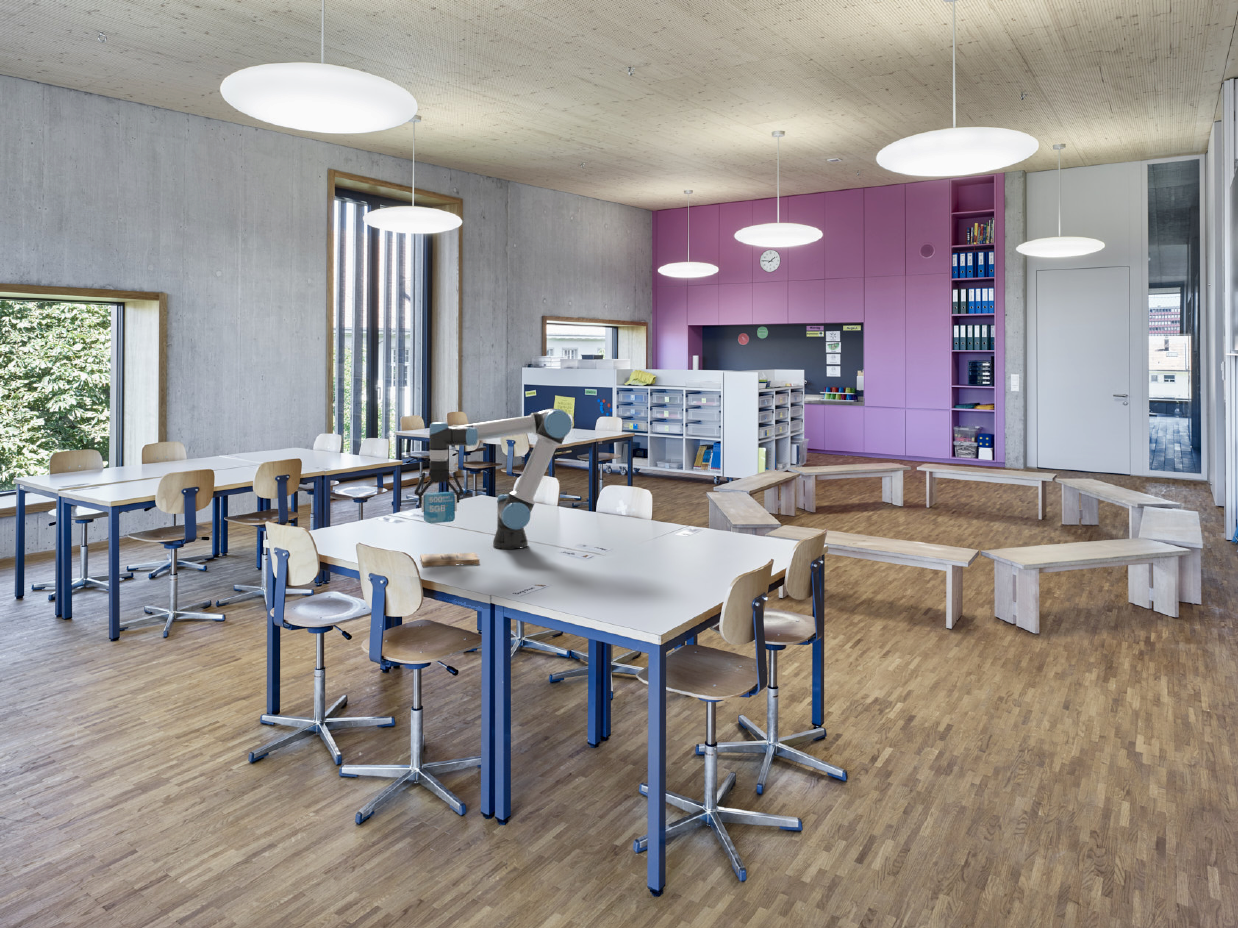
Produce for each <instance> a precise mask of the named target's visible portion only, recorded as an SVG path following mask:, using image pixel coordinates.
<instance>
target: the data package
mask: <svg viewBox="0 0 1238 928" xmlns="http://www.w3.org/2000/svg"><path fill="white" fill-rule="evenodd" d="M454 495H455V494H454V493H453V492H449V491H442V492H441V491H440V492H425V493H424V494H423V496H424V512H423V520H424V522H426V523H428V524H440V523H451V522H454V521H455V519H456V513H455V512H456V511H455V496H454Z"/></svg>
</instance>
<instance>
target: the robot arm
mask: <svg viewBox="0 0 1238 928" xmlns="http://www.w3.org/2000/svg"><path fill="white" fill-rule="evenodd" d="M572 424H573V423H572V419H571V416H570V415H569V414H568V413H567V411H564V410H563V409H559V408H548V409H545V410H544V409H543V410H541V411H536V412H531V413H530V414H529V415H526V416H518V417H511V418H504V419H497V420H490V421H484V422H477V423H471V424H464V425H462V424H458V425H457V426H455V427H451V426H449V423H448V422H440V421H439V422H432V423H431V422H430V424H429V434H428V435H429V437H428V438H429V459H430V461H429V472H426V471H422V472H421V477H420V480H419V482H418V484H417V485H416V488H415V489H414V491H413V494H414V495H415V496H418V504H419V505H420V506H421V512H422V513H424V495H425V493H426V491H427V490H428V489H429V488H430V486H431V485H432V484H433V483H436V484H437V483H441V484H442V483H446V484H447V485H448V486H449V487H450V489H451V490H452V491H453V492H454V493H455V494H454V496H455V512H457V511H458V505H457V504H459V503H460V495H464V494H465V491H464V489H463V488H462V485H461V484H460V481H459V480H458V478H457V472H456V471H455V470H453V471H449V446H452V447H453V446H463V447H465V446H466V447H470V446H471V447H472V446H477V444H478V441H484V440H485V441H486V440H491V439H499V438H506V437H513V436H519V435H520V436H521V435H527V434H533V435H535V436H537V441H536V442H535V445H534V447H533V449H532V451H531V453H530V456H529V458H528V460H527V462H526V465H525V466H524V469H523V471H522V473H521V475H520V477H519V480H518V482H517V484H516V486H515V488H514V490H512V491H510V492H509V493H508V494H499V495H498V496H497V500H496V503H497V507H496V509H497V512H496V513H497V515H496V516H497V519H496V522H497V523H496V524H497V525H496V526H497V528H496V530H495V531H496V532H495V534H494V538H493V541H492V546H493V547H494V548H496V547H498V548H497V549H500V548H502V550H515V549H514V548H520V547H525V548H527V547H528V546H529V545H528V544H529V543H528V541H529V540H528V538H527V536H526V531H525V527H526V526H527V525H528V524H529V522H530V520H531V516H532V515H531V513H532V511H533V508H534V506H535V503H536V502H535V500H534V497H535V495H536V493H537V491H538V489H539V486H540V484H541V482H542V479H543V477H544V475H545V473H546V471H547V469H548V467H549V465H550V462H551V460H552V457H553V456H554V453H555V451H556V449H557V447H560V446H562V444H563V443H564V440H565V437H566V436H568V435H569V434H570V432H571V430H572V427H573V425H572ZM428 476H429V478H430V479H429V480H428V482H427V483H426V484H425V485H424V486H423V488H422V489H421V487H422V485H423V483H424V481H425V478H427V477H428ZM449 476H451V477H452V478H453V480H454V482H455V483H456V486H457V488H458V490H457V489H456V487H455V486H454V485H453V484H452V483H451V482H450V480H449V479H448V478H449ZM420 489H421V490H420ZM419 491H420V492H419ZM527 545H528V546H527ZM526 546H527V547H526ZM520 549H521V548H520Z"/></svg>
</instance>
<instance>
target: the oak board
mask: <svg viewBox="0 0 1238 928" xmlns="http://www.w3.org/2000/svg"><path fill="white" fill-rule="evenodd" d="M419 558H420V559H421V560H420V563H421V562H422V563H421V565H422V567H423V566H428V567H437V566H436V565H451V566H457V565H456V564H475V565H480V558H479V557H478V555H477V553H476V552H455V553H432V554H430V553H429V554H420V556H419Z"/></svg>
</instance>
